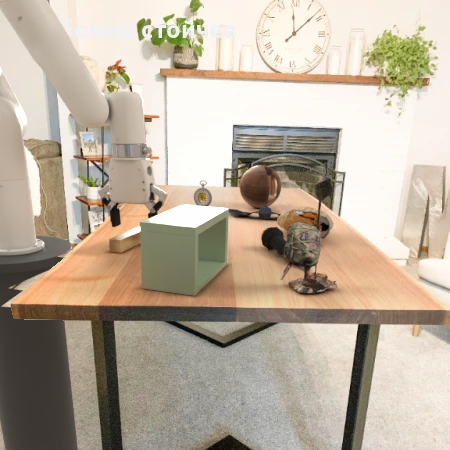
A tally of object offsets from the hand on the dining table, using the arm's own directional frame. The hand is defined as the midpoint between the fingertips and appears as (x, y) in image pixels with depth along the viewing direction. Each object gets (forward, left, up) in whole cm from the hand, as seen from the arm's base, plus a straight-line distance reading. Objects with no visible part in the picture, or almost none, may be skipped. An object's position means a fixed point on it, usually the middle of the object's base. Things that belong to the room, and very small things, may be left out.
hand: (134, 227), depth 106 cm
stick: (-1, 0, -4) cm, 4 cm away
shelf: (+20, -17, -4) cm, 27 cm away
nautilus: (+38, +24, -4) cm, 45 cm away
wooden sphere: (+16, +67, -4) cm, 69 cm away
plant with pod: (+43, -15, -4) cm, 46 cm away
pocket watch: (-1, +50, -4) cm, 50 cm away
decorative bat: (+22, +48, -4) cm, 53 cm away
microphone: (+35, +4, -4) cm, 36 cm away
